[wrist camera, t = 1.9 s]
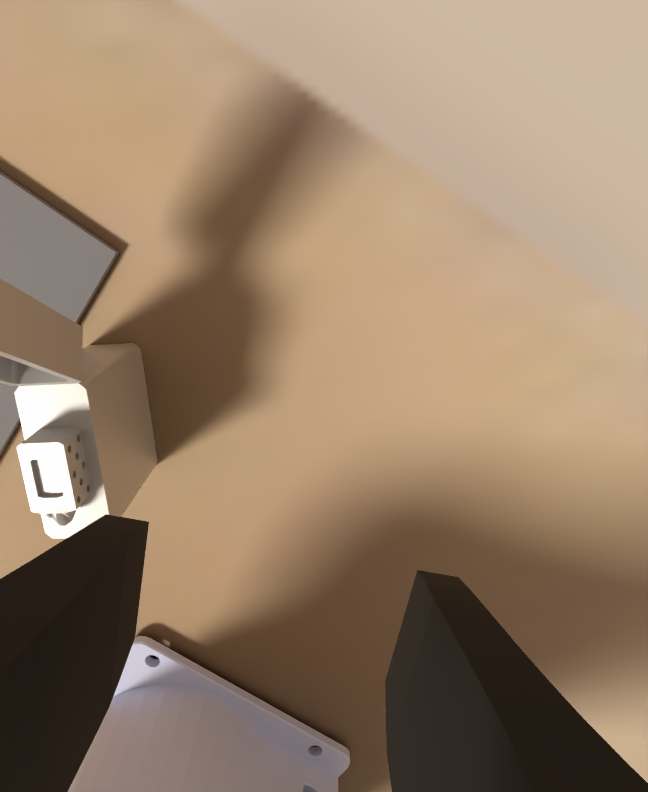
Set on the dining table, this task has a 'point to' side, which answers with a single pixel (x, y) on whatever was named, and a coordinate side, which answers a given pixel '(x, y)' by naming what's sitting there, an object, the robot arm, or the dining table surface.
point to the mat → (45, 266)
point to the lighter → (74, 415)
